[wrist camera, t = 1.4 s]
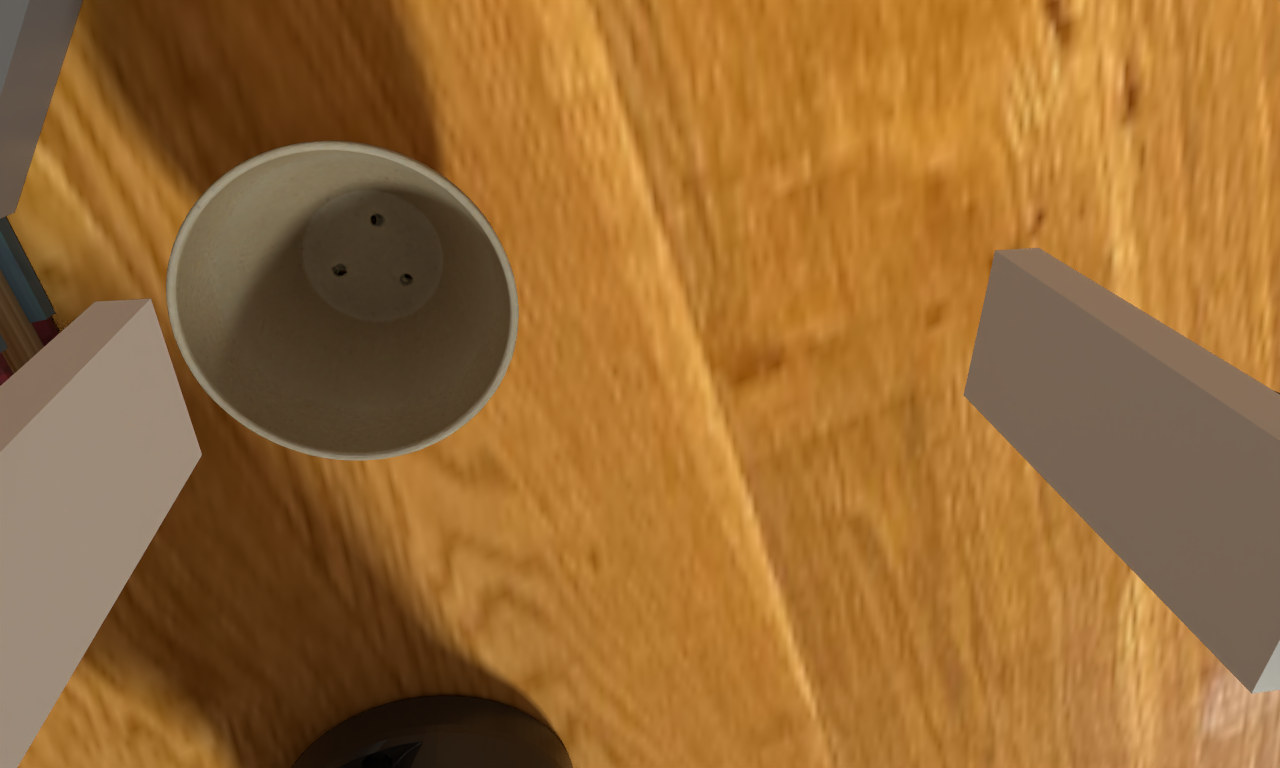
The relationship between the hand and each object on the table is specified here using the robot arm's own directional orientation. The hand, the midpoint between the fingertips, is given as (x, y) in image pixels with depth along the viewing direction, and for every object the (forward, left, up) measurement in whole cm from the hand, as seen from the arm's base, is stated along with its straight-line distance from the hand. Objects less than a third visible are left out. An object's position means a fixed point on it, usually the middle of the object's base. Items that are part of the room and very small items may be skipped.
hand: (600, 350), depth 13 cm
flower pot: (-6, +3, -20) cm, 21 cm away
